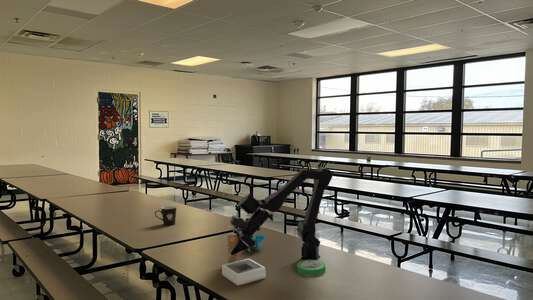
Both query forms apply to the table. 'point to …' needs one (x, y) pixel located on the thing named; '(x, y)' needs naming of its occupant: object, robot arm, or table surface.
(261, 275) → the bore box
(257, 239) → the blue figurine
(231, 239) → the peg
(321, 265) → the tape roll
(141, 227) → the table surface
